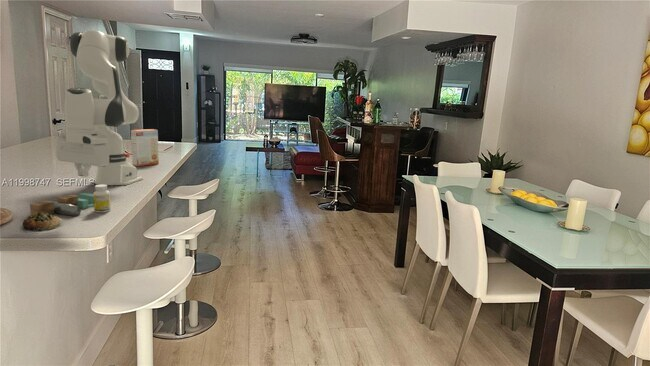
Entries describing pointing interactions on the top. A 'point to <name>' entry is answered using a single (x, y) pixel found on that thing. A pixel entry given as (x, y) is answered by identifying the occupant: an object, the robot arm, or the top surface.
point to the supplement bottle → (101, 198)
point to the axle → (66, 209)
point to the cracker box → (144, 147)
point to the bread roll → (41, 222)
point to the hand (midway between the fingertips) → (83, 176)
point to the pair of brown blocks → (51, 204)
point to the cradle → (85, 200)
